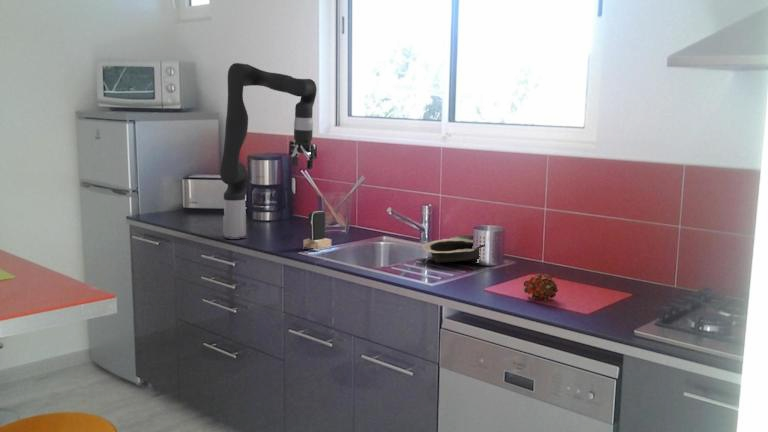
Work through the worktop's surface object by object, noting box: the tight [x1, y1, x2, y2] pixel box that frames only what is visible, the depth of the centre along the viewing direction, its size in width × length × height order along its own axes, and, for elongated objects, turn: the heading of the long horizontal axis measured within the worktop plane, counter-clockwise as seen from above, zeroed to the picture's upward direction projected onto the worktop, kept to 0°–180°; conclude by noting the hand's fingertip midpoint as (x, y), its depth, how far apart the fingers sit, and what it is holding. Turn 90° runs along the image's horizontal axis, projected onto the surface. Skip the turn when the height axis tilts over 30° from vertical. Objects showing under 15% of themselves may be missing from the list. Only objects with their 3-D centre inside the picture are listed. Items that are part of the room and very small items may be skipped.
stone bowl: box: [421, 234, 486, 265], centre depth 271 cm, size 25×25×9 cm
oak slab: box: [302, 237, 332, 249], centre depth 293 cm, size 8×8×4 cm
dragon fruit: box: [523, 273, 559, 302], centre depth 220 cm, size 8×8×12 cm
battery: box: [307, 210, 326, 240], centre depth 292 cm, size 7×4×11 cm, turn 141°
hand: (302, 167), depth 297 cm, fingers open, 8 cm apart
